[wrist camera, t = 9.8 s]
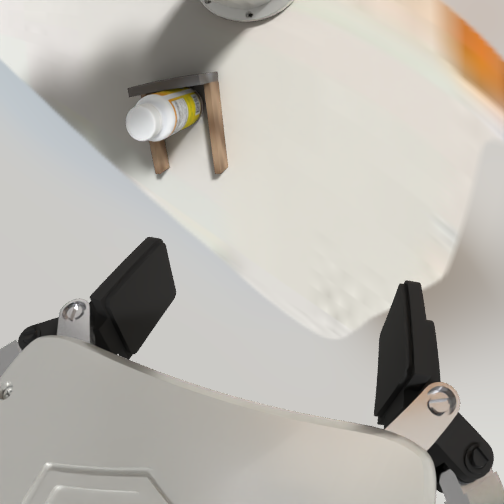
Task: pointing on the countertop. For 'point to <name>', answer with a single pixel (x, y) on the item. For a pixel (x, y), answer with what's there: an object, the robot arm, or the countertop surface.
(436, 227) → the countertop surface
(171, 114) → the supplement bottle
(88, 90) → the countertop surface
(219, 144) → the guide track
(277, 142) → the countertop surface
